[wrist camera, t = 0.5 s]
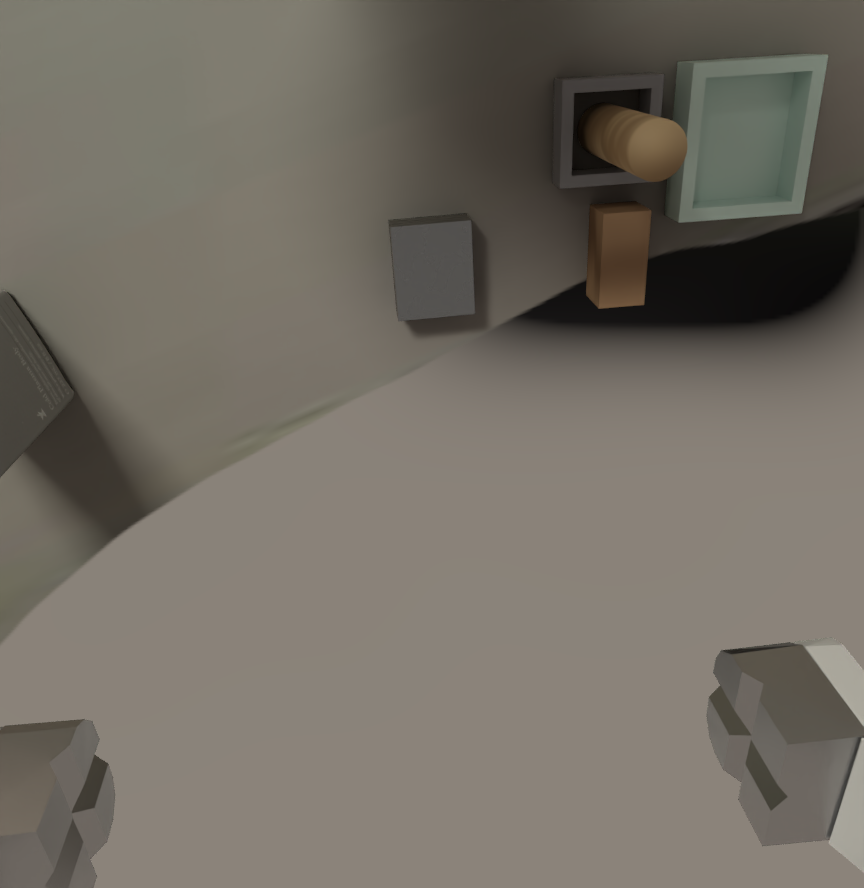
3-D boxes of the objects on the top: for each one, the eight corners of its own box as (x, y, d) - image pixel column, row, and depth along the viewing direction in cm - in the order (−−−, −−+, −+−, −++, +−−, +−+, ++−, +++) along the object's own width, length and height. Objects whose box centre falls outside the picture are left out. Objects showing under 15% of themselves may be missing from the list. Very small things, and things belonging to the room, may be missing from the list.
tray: (677, 61, 47) (694, 63, 44) (806, 53, 47) (828, 54, 45) (664, 214, 51) (678, 222, 49) (782, 205, 51) (801, 213, 49)
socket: (554, 78, 46) (562, 80, 45) (652, 72, 47) (664, 74, 45) (552, 183, 49) (559, 188, 47) (644, 176, 50) (655, 181, 48)
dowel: (577, 104, 47) (631, 120, 38) (626, 101, 47) (690, 116, 39) (576, 156, 49) (627, 183, 40) (623, 153, 49) (684, 179, 40)
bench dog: (589, 204, 50) (603, 214, 47) (635, 201, 50) (651, 210, 48) (586, 294, 53) (598, 308, 50) (629, 291, 53) (643, 304, 50)
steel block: (388, 218, 50) (390, 227, 47) (465, 212, 50) (471, 220, 48) (396, 309, 52) (398, 321, 50) (469, 302, 53) (475, 313, 50)
